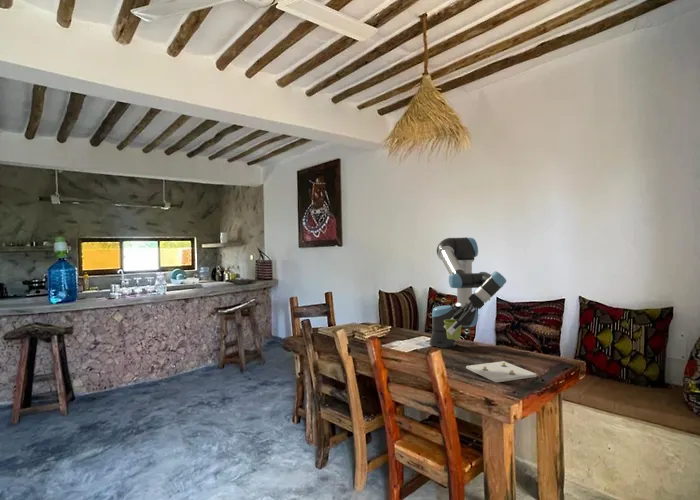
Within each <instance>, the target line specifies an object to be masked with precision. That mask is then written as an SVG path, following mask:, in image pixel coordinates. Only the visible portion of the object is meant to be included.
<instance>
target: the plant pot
mask: <svg viewBox="0 0 700 500" xmlns="http://www.w3.org/2000/svg"><path fill="white" fill-rule="evenodd" d="M455 322H456V320H454V319H449V320H444V323H445V326H446V332H447V330H448V329H449V328H450V327H451V326H452V325H453V324H454V323H455ZM462 328H463V327H462V325H461V326H460V327H459V328H458V329H457V330H456V331H455V332H454V333H453V334H452V335H451V334H449V333H448V332H447V338H448V339H453V340H455V341H456V340H460V339H461V332H462Z"/></svg>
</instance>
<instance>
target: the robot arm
mask: <svg viewBox="0 0 700 500" xmlns="http://www.w3.org/2000/svg"><path fill="white" fill-rule="evenodd" d="M436 255H437V257H438V259H440V260H441V261H442V263H443V265H444V266H445V268H446V270H447V272H448V274H449V276H448V284H449V287H450V288H452V289H456V292H457V293H456V294H457V295H456V298H457V299H456V300H457V301H456V302H455V304H454V307H452V305H449V304H448V305H439V306H435V307H434V308H432V313H431V316H432V317H431V318H432V320H431V321H432V322H431V323H432V324H431V325H432V333H431V335H430V339H429V346H431V345H432V346H431V347H433V346H436V347H435V348H439V347H440V349H441V348H442V349H445V348H446V349H447V348H448V349H449V348H454V347H456V340H453V339H448V338H447V332H448V333H449V334H451V335H452V334H453V333H454V332H455V331H456V330H457V329H458V328H459V327H460V326H461V325H462V327H461V328H474V327H476V325H477V324H478V321H479V320H478V319H479V310H480V309H482V308H483V307H484V306H485V304H486V303H487V302H489V301H491V298H492V297H494V296H495V295H496V293H498V291H499V290H501V289H502V288H503V287H504V285H505V284H506V283H507V279H506V278H505V277H504V275H503V274H501V273H500V272H499V271H493V272H492V273H491V274H490V273H489V272H487V271H480V272H476V273H475V272H473V262H474V261H475V258H476V257H478V256H479V247H478V243H477V241H476V240H475V238H474V237H466V236H465V237H446V238H445V239H443V240H441V241H440V242H439V243H438V244H437V247H436ZM473 289H475V290H474V291H473ZM478 309H479V310H478ZM449 319H454V320H456V322H455V323H454V324H453V325H452V326H451V327H450V328H449V329H448V330H447V332H446V326H445V323H444V320H449Z"/></svg>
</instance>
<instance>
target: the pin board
mask: <svg viewBox="0 0 700 500" xmlns="http://www.w3.org/2000/svg"><path fill="white" fill-rule="evenodd" d="M465 368H466V369H467V370H469V371H471V372H472V373H475V374H478V375H480V376H482V377H483V378H485V379H488V380H490V381H492V382H493V383H501V382H508V381H517V380H522V379H529V378H536V377H537V376H538V375H537V373H535V372H532V371H530V370H527V369H525V368H522V367H519V366H516V365H515V364H512V363H509V362H507V361H504V360H503V361H495V362H486V363H479V364H471V365H466V366H465Z"/></svg>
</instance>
